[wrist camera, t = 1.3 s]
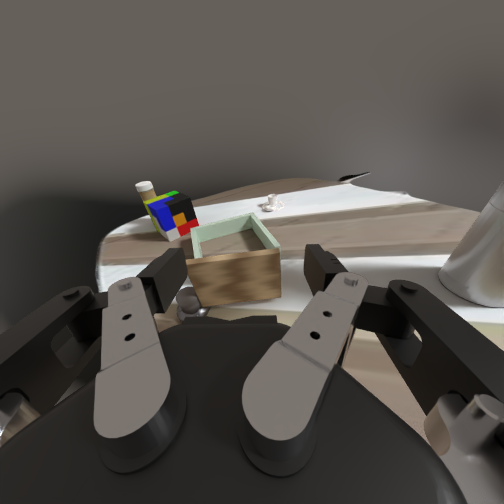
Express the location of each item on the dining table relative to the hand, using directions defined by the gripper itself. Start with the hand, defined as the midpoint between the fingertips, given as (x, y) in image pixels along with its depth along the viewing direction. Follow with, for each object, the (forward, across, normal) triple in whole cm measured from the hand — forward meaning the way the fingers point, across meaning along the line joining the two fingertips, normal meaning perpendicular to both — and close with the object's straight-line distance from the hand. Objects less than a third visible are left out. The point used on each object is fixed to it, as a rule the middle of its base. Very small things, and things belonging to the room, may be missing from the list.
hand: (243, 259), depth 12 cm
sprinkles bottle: (+52, +33, +11) cm, 63 cm away
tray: (+32, +6, +14) cm, 36 cm away
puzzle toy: (+46, +25, +12) cm, 54 cm away
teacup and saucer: (+56, -3, +9) cm, 56 cm away
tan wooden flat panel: (+15, +4, +16) cm, 23 cm away
